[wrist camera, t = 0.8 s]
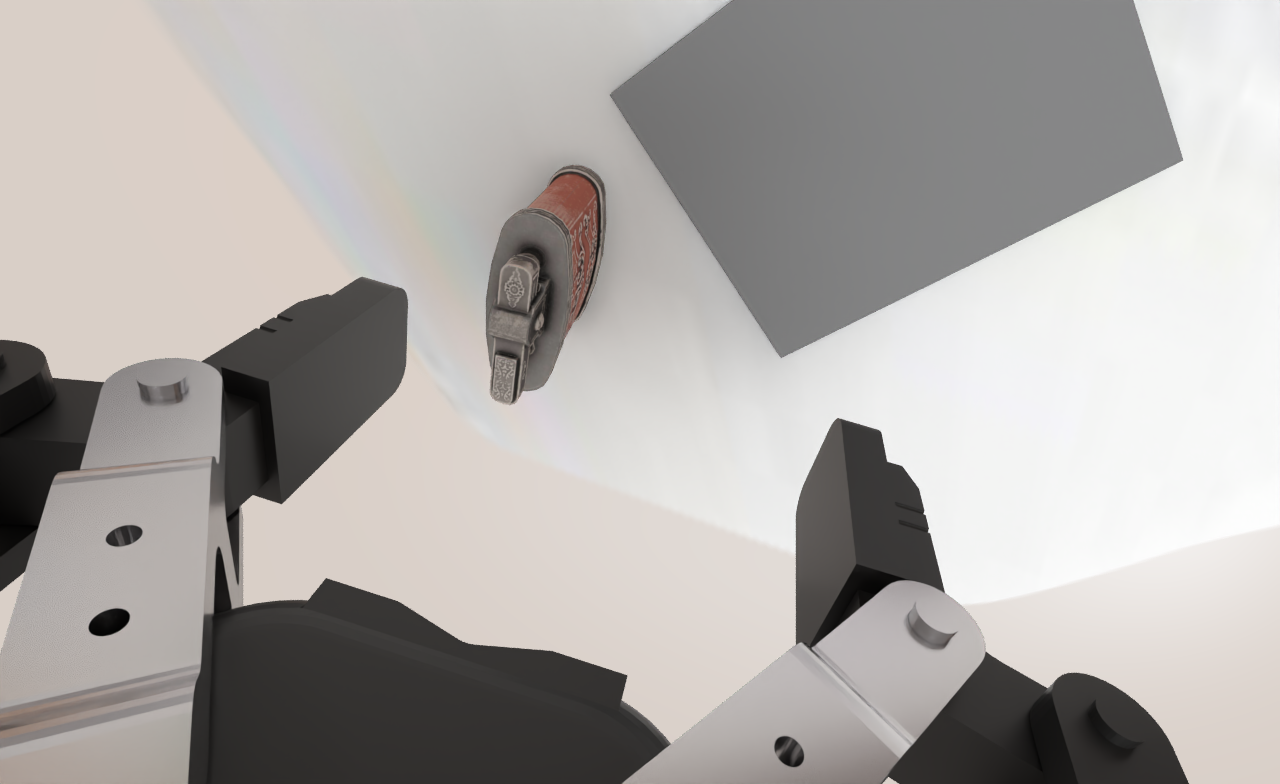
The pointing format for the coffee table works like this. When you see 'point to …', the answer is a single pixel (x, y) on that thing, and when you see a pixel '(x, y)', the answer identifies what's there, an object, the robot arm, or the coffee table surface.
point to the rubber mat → (892, 140)
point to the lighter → (543, 280)
